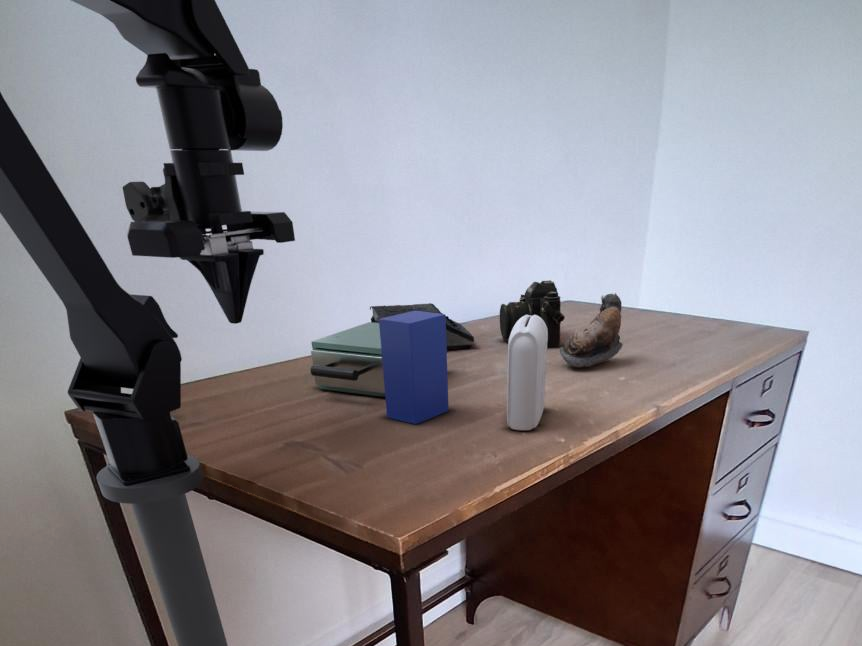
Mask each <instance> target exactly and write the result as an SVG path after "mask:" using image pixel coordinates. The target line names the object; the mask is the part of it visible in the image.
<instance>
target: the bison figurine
mask: <svg viewBox="0 0 862 646" xmlns="http://www.w3.org/2000/svg"><path fill="white" fill-rule="evenodd" d="M600 299H601V306H600V308H599V313H597V314H596V316H595V318H593V320H591V321H590V323H589V324H588V325H587V326H586V327H585V328H584V329H583V331H581V330H580V329H575V330H574V331H573V332H572V334H571V335H570V337H569V338H568V339H567V340H566V342H563V345H562V346H561V347H560V348H559V352H560V355H561V357H562V359H563V361H565V362H566V364H568V365H569V366H571V367H573V368H577V369H578V368H579V369H581V368H589V367H592V366H596V365H599V364H601V363H603V362H606V361H609V360H610V359H611V358H613V357H615V356H616V355H617V354H618V353H619V352H620V351H621V349H622V348H623V346H624V345H623V344H624V343H622V342H620V340H621V336H620V335H619V334H620V329H621V326H622V300H621V298H620V297H619V295H618V294H617V292H614V293H607V294H605V295H604V294H602V295H601V297H600Z"/></svg>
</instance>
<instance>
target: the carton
mask: <svg viewBox="0 0 862 646" xmlns="http://www.w3.org/2000/svg"><path fill="white" fill-rule="evenodd" d="M446 316H447V315H446V314H445V313H443V314H439V313H431V312H423V311H411V312H407V313H402V314H398V315H394V316H390V317H385V318H381V319H379V329H380V340H381V352H382V363H383V375H384V387H385V397H384V398H385V411H386V418H387V419H391V420H396V421H401V422H405V423H409V424H412V425H413V424H414V425H418V424H420V423H423V422H426V421H428V420H430V419H433V418H435V417H437V416H440V415H442V414H445V413H447V412H449V382H448V381H449V380H448V379H449V378H448V350H447V346H446Z"/></svg>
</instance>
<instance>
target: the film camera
mask: <svg viewBox="0 0 862 646" xmlns="http://www.w3.org/2000/svg"><path fill="white" fill-rule="evenodd" d="M561 304H562V303H561V296H560V295H559V292H558V288H557V287H556V284H555V282H554V281H552V280H551V279H549V280H541V281H540V282H537V281H533V282H532V283H531V284H530V285H529V287H527V288H526V289H525V292H524V294H520V298H519V301H510V302H508V303H507V304H505V303H502V304H500V307H499V330H500V334H501V337H502V338H501V339H502V340H503V341H504V342H505V341H508V340H509V337H510V334H511V331H512V329H513V327H514V325H515V324H516V322H517V321H518V320H519V319H520V318H521V317H523V316H525V315H530V316H533V315H537V316H539V317H541V318H542V319H543V321H544V322H545V324H546V327H547V330H548V341H547V348H551V347H559V346H560V344H561V324H562V322H563V321H564V320H565V317H566V316H565V315H564V314H563V313H562V311H561V306H562V305H561Z"/></svg>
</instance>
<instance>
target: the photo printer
mask: <svg viewBox="0 0 862 646" xmlns="http://www.w3.org/2000/svg"><path fill="white" fill-rule="evenodd" d="M547 341H548V330H547V327H546V324H545V322H544V321H543V319H542V318H541V317H539V316H537V315H533V316H530V315H525V316H523V317H521V318H520V319H519V320H518V321H517V322H516V324H515V325H514V327H513V329H512V331H511V334H510V337H509V339H508V343H507V378H506V379H507V381H506V382H507V383H506V423H507V427H508V428H510V429H511V430H515V431H531V430H533V429H535V428H536V427H538V425H539V423H540V421H541V418H542V416H543V413H544V408H545V400H546V399H545V398H546V377H547V355H548V347H547Z"/></svg>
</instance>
